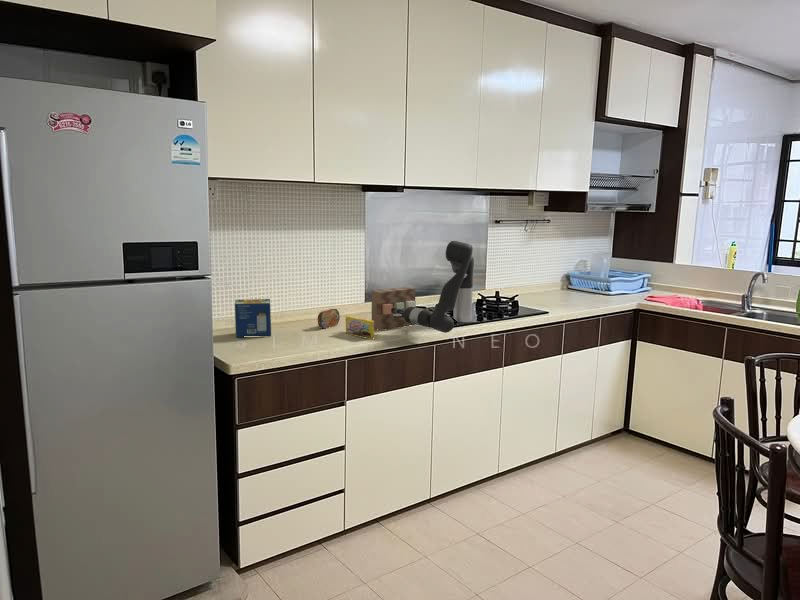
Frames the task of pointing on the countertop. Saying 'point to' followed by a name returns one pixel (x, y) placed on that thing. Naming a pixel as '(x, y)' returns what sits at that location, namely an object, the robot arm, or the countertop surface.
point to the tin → (328, 318)
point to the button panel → (392, 297)
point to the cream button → (410, 304)
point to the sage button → (399, 305)
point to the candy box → (360, 327)
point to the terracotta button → (387, 308)
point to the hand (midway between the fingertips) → (392, 310)
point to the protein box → (253, 317)
